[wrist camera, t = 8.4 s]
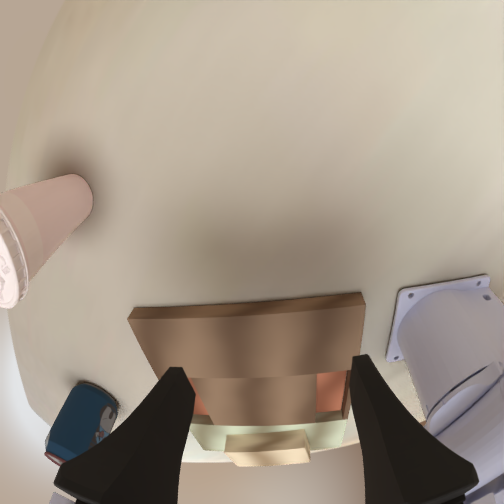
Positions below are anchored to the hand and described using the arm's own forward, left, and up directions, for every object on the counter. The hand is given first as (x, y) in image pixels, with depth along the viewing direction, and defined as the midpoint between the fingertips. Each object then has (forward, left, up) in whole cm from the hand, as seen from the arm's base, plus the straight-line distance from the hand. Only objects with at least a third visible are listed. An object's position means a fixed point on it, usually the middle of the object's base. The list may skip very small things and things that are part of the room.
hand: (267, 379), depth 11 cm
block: (+2, +23, -8) cm, 25 cm away
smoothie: (+14, -7, -10) cm, 18 cm away
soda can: (+25, +18, -10) cm, 32 cm away
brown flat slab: (+3, +15, -9) cm, 18 cm away
